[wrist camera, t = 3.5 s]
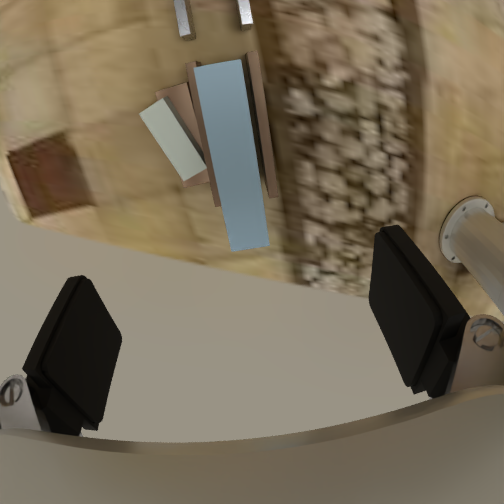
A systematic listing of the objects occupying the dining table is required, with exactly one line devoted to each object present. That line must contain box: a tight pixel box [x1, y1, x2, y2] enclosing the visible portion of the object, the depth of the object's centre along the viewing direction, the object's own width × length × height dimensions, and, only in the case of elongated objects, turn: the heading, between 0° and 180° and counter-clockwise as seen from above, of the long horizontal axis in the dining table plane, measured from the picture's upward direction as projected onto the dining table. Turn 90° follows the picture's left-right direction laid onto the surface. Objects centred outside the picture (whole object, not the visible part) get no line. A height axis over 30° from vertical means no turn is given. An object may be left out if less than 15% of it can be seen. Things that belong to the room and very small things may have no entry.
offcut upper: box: [139, 96, 207, 181], centre depth 31 cm, size 3×9×2 cm, turn 28°
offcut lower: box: [155, 82, 210, 188], centre depth 34 cm, size 4×12×2 cm, turn 12°
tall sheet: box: [194, 59, 270, 251], centre depth 27 cm, size 3×14×16 cm, turn 9°
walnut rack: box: [185, 51, 278, 207], centre depth 32 cm, size 7×16×5 cm, turn 9°
